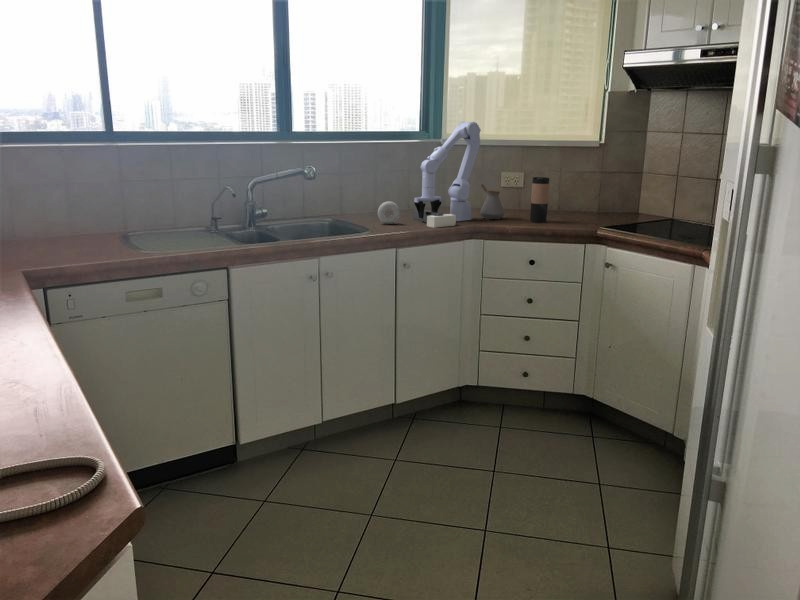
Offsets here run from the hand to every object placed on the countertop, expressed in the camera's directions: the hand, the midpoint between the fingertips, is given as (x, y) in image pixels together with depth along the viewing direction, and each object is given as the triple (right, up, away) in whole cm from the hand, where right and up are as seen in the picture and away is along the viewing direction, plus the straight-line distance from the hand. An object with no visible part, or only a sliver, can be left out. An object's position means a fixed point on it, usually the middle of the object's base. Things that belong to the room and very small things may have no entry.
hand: (427, 217), depth 302 cm
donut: (-17, -4, -9) cm, 20 cm away
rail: (0, -2, 0) cm, 2 cm away
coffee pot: (+30, +2, +17) cm, 35 cm away
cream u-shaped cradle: (+5, -5, -12) cm, 14 cm away
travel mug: (+51, -2, +4) cm, 51 cm away
